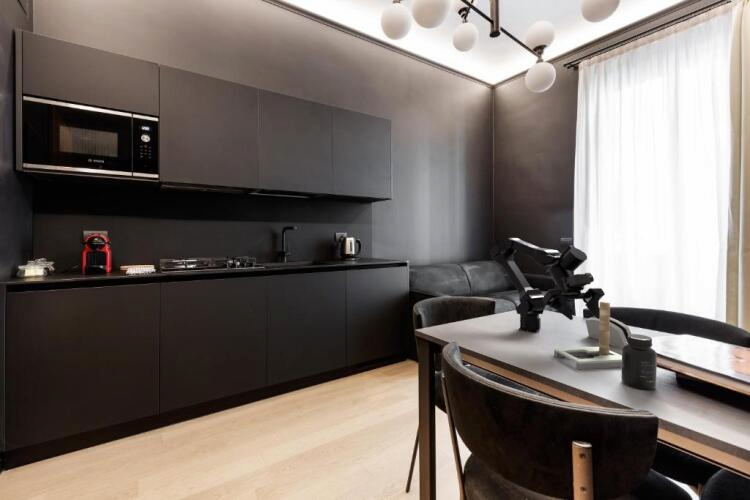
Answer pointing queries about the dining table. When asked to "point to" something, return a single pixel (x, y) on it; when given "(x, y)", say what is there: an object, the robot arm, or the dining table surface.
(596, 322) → the grey curved piece
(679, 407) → the dining table surface
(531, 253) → the robot arm
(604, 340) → the peg
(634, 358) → the supplement bottle
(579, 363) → the keyhole board
